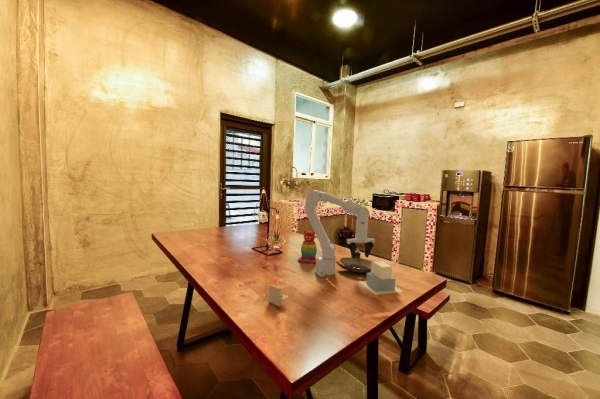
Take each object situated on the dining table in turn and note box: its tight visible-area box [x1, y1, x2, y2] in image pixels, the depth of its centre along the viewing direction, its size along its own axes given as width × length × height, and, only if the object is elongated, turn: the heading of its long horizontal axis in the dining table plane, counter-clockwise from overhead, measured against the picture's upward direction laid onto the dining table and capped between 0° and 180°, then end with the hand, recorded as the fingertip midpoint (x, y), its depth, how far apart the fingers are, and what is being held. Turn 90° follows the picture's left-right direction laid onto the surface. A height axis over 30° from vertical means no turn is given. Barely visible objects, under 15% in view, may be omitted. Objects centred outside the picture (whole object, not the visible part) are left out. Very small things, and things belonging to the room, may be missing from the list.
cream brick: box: [370, 260, 393, 280], centre depth 117 cm, size 5×8×6 cm, turn 19°
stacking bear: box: [297, 230, 318, 265], centre depth 152 cm, size 11×10×18 cm
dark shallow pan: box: [335, 248, 373, 274], centre depth 142 cm, size 22×30×8 cm
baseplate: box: [359, 280, 404, 296], centre depth 118 cm, size 14×14×1 cm
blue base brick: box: [365, 272, 396, 292], centre depth 118 cm, size 9×9×5 cm
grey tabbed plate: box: [268, 284, 289, 308], centre depth 100 cm, size 3×7×7 cm, turn 53°
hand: (359, 257), depth 130 cm, fingers open, 7 cm apart
